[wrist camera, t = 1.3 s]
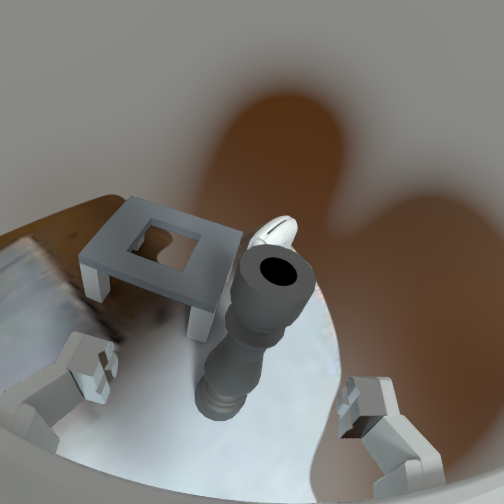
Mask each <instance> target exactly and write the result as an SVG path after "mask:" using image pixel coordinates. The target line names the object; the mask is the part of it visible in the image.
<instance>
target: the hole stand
mask: <svg viewBox="0 0 504 504" xmlns="http://www.w3.org/2000/svg"><path fill="white" fill-rule="evenodd" d="M151 225H152V226H155V227H158V228H161V229H164V230H167V231H170V232H173V233H176V234H179V235H182V236H185V237H188V238H191V239H194V240H197V241H198V243H197V245H196V247H195V248H194V250H193V252H192V254H191V256H190V258H189V260H188V262H187V264H186V266H185V267H184V269H183V271H179V270H176V269H174V268H171V267H168V266H165V265H162V264H160V263H157V262H154V261H151V260H149V259H146V258H143V257H140V256H138V255H135V254H132V253H131V251H132V250H136V251H137V250H138V249H139V248H140V246H141V245H142V243H143V242H144V235H145V232H146V231H147V230H148V228H149V227H150V226H151ZM242 235H243V232H241V231H238V230H235V229H232V228H229V227H226V226H223V225H220V224H217V223H214V222H211V221H208V220H205V219H202V218H199V217H195V216H193V215H190V214H186V213H183V212H180V211H177V210H174V209H171V208H168V207H165V206H161V205H158V204H155V203H152V202H149V201H146V200H143V199H140V198H136V197H133V196H131V197H130V198H129V199H128V200H127V201H126V202H125V203H124V204H123V205H122V206H121V207H120V208H119V209H118V210H117V211H116V212H115V214H114V215H113V216H112V217H111V218H110V219H109V220H108V221H107V222H106V223H105V225H104V226H103V227H102V228H101V229H100V230H99V231H98V232H97V234H96V235H95V236H94V237H93V238H92V239H91V240H90V242H89V243H88V244H87V245H86V246H85V247H84V249H83V250H82V251H81V252H80V253H79V255H78V257H79V263H80V269H81V274H82V279H83V285H84V290H85V295H86V297H88V298H90V299H92V300H95V301H97V302H99V303H102V302H103V301H104V299H105V298H106V296H107V295H108V293H109V292H110V281H109V275H110V276H113V277H115V278H118V279H120V280H123V281H125V282H128V283H131V284H133V285H136V286H138V287H141V288H144V289H146V290H149V291H151V292H154V293H157V294H160V295H162V296H165V297H168V298H170V299H173V300H176V301H179V302H182V303H184V304H187V305H190V306H191V312H190V317H189V323H188V328H187V334H186V337H188V338H191V339H194V340H197V341H200V342H203V343H206V341H207V338H208V335H209V332H210V330H211V326H212V323H213V319H214V316H215V312H216V309H217V306H218V302H219V299H220V295H221V293H222V290H223V287H224V284H225V282H228V279H229V276H230V273H231V271H232V267H233V264H234V261H235V257H236V254H237V251H238V248H239V244H240V241H241V238H242Z"/></svg>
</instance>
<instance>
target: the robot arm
mask: <svg viewBox="0 0 504 504" xmlns="http://www.w3.org/2000/svg"><path fill="white" fill-rule="evenodd" d="M114 348H115V347H114V344H113V342H112V341H108V340H105V339H101V338H97V337H94V336H90V335H87V334H84V333H80V332H77V331H74V332H72V333H71V334H70V336H69V338H68V339H67V341H66V343H65V345H64V346H63V348H62V350H61V352H60V354H59V356H58V357H57V359H56V361H55V363H54V365H52V364H49V365H47V366H46V367H44V368H42V369H41V370H39V371H38V372H36V373H34V374H33V375H31V376H29V377H28V378H26V379H24V380H23V381H21V382H19V383H18V384H16V385H14V386H13V387H11V388H9V389H8V390H6V391H5V392H4V393H3V395H2V397H1V399H0V504H285V503H260V502H246V501H236V500H226V499H218V498H211V497H204V496H198V495H192V494H186V493H181V492H176V491H171V490H166V489H162V488H158V487H153V486H149V485H145V484H141V483H138V482H134V481H130V480H127V479H123V478H120V477H117V476H114V475H111V474H107V473H104V472H101V471H98V470H96V469H93V468H90V467H87V466H85V465H82V464H79V463H77V462H74V461H72V460H69V459H67V458H64V457H62V456H59V455H57V454H55V453H56V450H57V447H58V444H59V441H60V439H59V437H58V436H57V435H56V433H55V432H54V431H53V430H52V429H51V427H52V426H53V425H54V424H56V423H57V422H58V421H59V420H61V419H62V418H63V417H64V416H65V415H67V414H68V413H69V412H70V411H71V410H73V409H74V408H75V407H76V406H77V405H79V404H80V403H81V402H82V401H84V399H87V400H90V401H94V402H97V403H101V404H104V405H105V403H106V400H107V398H108V395H109V393H110V387H109V383H110V382H112V381H113V380H115V377H116V374H117V370H118V358H117V355H116V354H115V353H114V352H113V351H114ZM336 407H337V413H338V414H339V415H340V416H341V419H340V421H339V422H338V427H339V437H340V438H341V439H350V438H351V439H361V441H362V442H363V444H364V445H365V447H366V448H367V450H368V451H369V452H370V454H371V455H372V457H373V458H374V460H375V461H376V463H377V464H378V466H379V467H380V468H381V470H382V471H383V473H384V474H385V476H384V477H382V478H381V479H379V480H378V481H376V482H375V483H374V484H373V489H374V499H368V500H360V501H359V500H358V501H348V502H334V503H309V504H504V466H502V467H499V468H496V469H494V470H491V471H488V472H485V473H482V474H479V475H476V476H473V477H470V478H467V479H464V480H460V481H457V482H454V483H450V484H446V481H445V476H444V471H443V466H442V462H441V457H440V454H439V453H438V452H437V451H436V450H435V449H434V448H433V446H431V444H430V443H429V442H428V441H427V440H426V439H425V438H424V437H423V436H422V435H421V434H420V433H419V432H418V430H416V428H415V427H414V426H413V425H412V424H411V423H410V422H409V421H408V420H407V418H406V417H405V416H404V415H400V413H399V409H398V405H397V400H396V396H395V392H394V389H393V384H392V381H391V379H390V378H389V377H364V376H363V377H362V376H351V377H349V378H348V379H347V381H346V387H343V388H342V389H341V390H340V392H339V393H338V397H337V404H336Z"/></svg>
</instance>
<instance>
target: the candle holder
mask: <svg viewBox="0 0 504 504" xmlns="http://www.w3.org/2000/svg"><path fill="white" fill-rule="evenodd" d="M315 284H316V278H315V275H314V272H313V269H312V268H311V267H310V265H309V264H308V263H307V262H306V260H305V259H303V258H302V257H301V256H300V255H298V254H297V253H295V252H294V251H292V250H290V249H287V248H285V247H282V246H279V245H272V244H262V245H256V246H253V247H251V248H250V249H248V250H246V251H245V252H244V253H243V255H242V257H241V259H240V262H239V265H238V268H237V271H236V274H235V277H234V280H233V283H232V287H231V290H230V293H231V302H232V304H231V305H230V306H229V308H228V310H227V312H226V315H225V323H226V328H227V330H228V333H227V335H226V337H225V338H224V339H223V340H222V341H221V342H220V343H219V344H218V345H217V347H216V348H215V349H214V350H213V351H212V352H211V353H210V354H209V355H208V358H207V360H206V362H205V365H204V370H205V374H204V376H203V377H202V378H201V380H200V382H199V384H198V387H197V390H196V394H195V403H196V405H197V408H198V410H199V411H200V412H201V413H202V414H203V415H204V416H205V417H207V418H209V419H212V420H214V421H226V420H228V419H231V418H233V417H234V416H235V415H236V414H237V413H238V412H239V411H240V409H241V408H242V406H243V405H244V403H245V400H246V397H247V394H248V393H250V392H251V391H252V390H253V389H254V388H255V387H256V386H257V384H258V382H259V379H260V376H261V371H262V362H263V354H264V352H265V350H266V349H267V348H270V347H273V346H275V345H276V344H277V343H278V342H279V341H280V340H281V339H282V337H283V335H284V331H285V328H286V327H287V326H290V325H291V324H292V323H293V322H294V321H295V320H296V319H297V318H298V317H299V315H300V314H301V312H302V310H303V309H304V307H305V305H306V304H307V302H308V300H309V299H310V297H311V295H312V294H313V292H314V289H315Z"/></svg>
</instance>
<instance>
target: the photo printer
mask: <svg viewBox="0 0 504 504" xmlns="http://www.w3.org/2000/svg"><path fill="white" fill-rule="evenodd" d="M296 232H297V223H296V221H295V220H294V219H292V218H291V217H289V216H281V217H278V218H275V219H274V220H272V221H270V222H269V223H267V224H266V225H264V226H263V227H262V228H261V229H260V230H258V231H257V232H256V233H255V235H254V236H253V237H252V239H251V240H250V242H249V245H248V248H247V250H248V249H250V248H251V247H253V246H256V245H262V244H272V245H279V246H282V247H285V248H287V249H289V248H290V246H291V243H292V241H293V239H294V237H295V234H296Z"/></svg>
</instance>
